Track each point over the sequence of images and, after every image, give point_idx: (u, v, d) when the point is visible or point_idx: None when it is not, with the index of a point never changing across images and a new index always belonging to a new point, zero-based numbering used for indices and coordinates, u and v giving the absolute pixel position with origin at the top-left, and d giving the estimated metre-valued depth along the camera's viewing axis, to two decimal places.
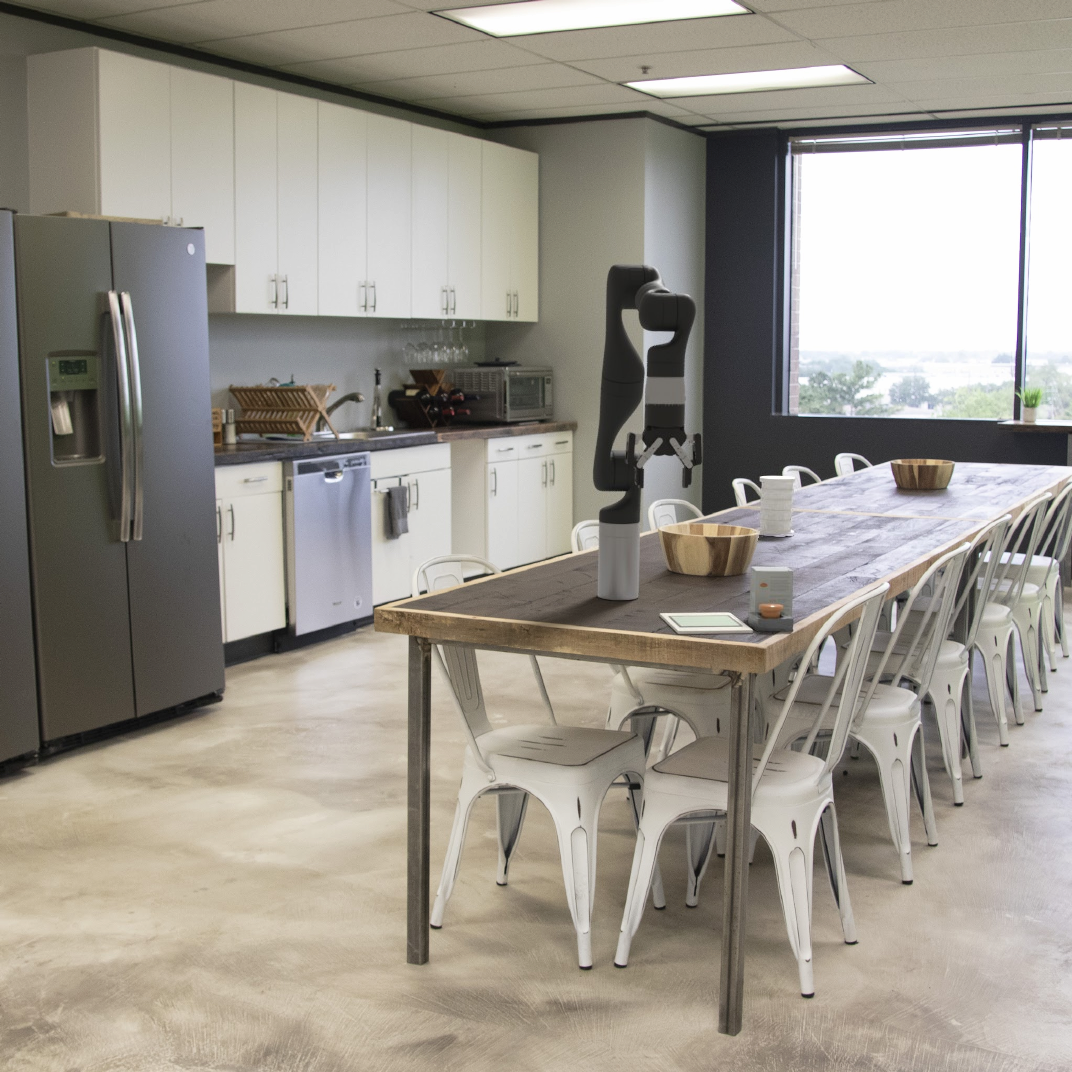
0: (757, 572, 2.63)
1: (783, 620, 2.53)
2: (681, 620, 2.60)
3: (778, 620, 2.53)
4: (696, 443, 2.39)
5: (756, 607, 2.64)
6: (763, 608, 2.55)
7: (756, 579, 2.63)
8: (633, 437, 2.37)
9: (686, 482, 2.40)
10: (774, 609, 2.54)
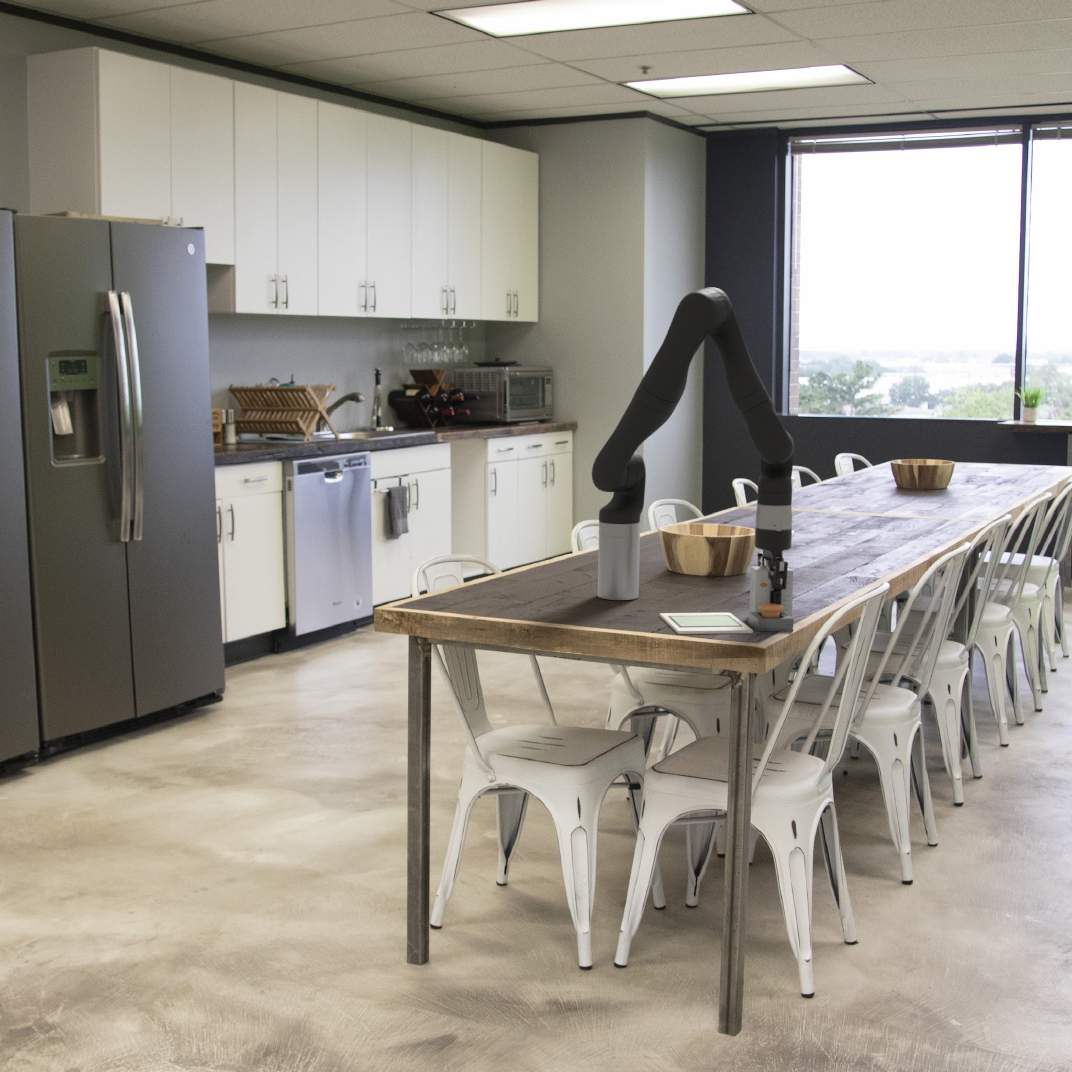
0: (757, 572, 2.63)
1: (783, 620, 2.53)
2: (681, 620, 2.60)
3: (778, 620, 2.53)
4: None
5: (756, 607, 2.64)
6: (763, 608, 2.55)
7: (756, 579, 2.63)
8: None
9: None
10: (774, 609, 2.54)
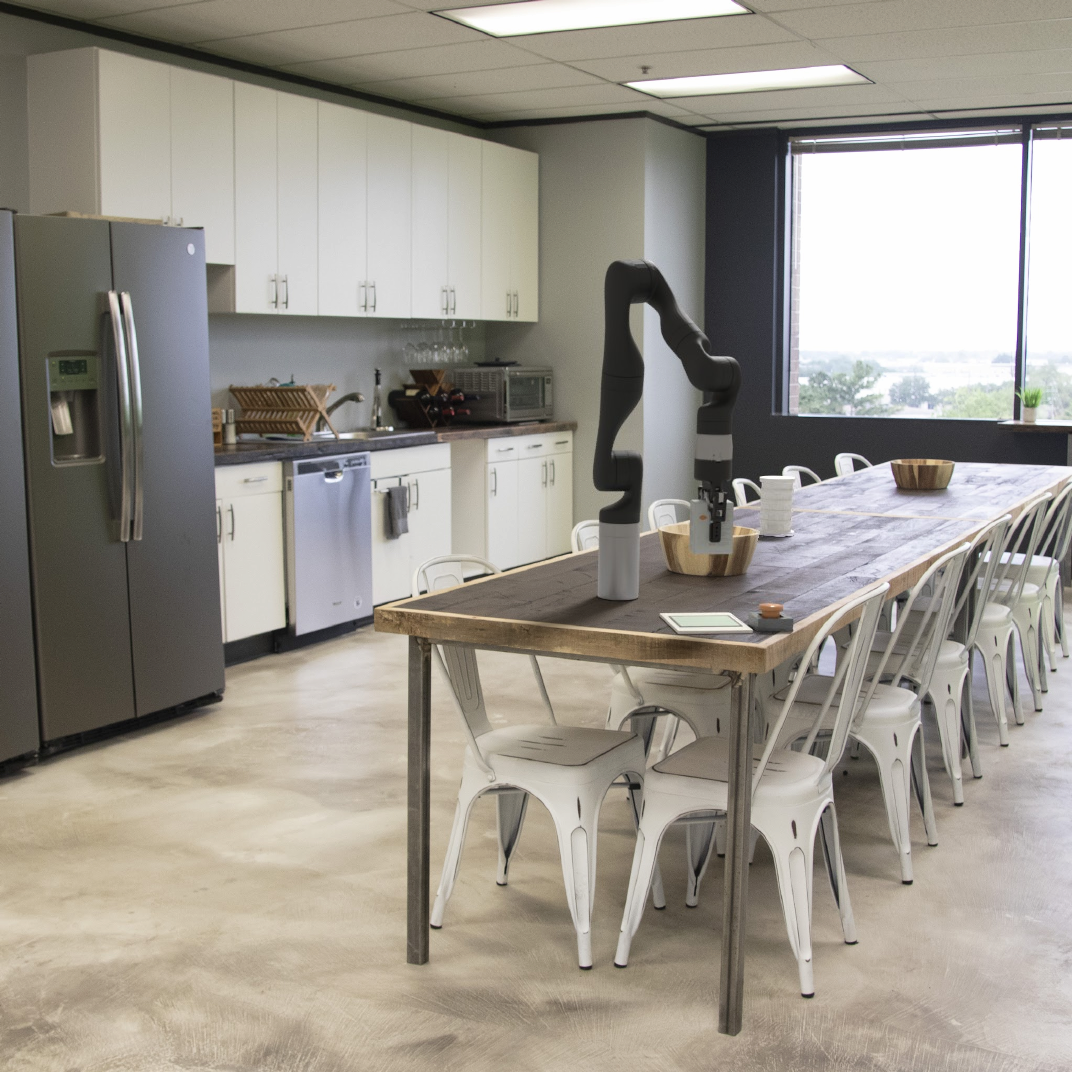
0: (696, 504, 2.54)
1: (783, 620, 2.53)
2: (681, 620, 2.60)
3: (778, 620, 2.53)
4: None
5: (695, 540, 2.55)
6: (763, 608, 2.55)
7: (695, 511, 2.54)
8: None
9: None
10: (774, 609, 2.54)
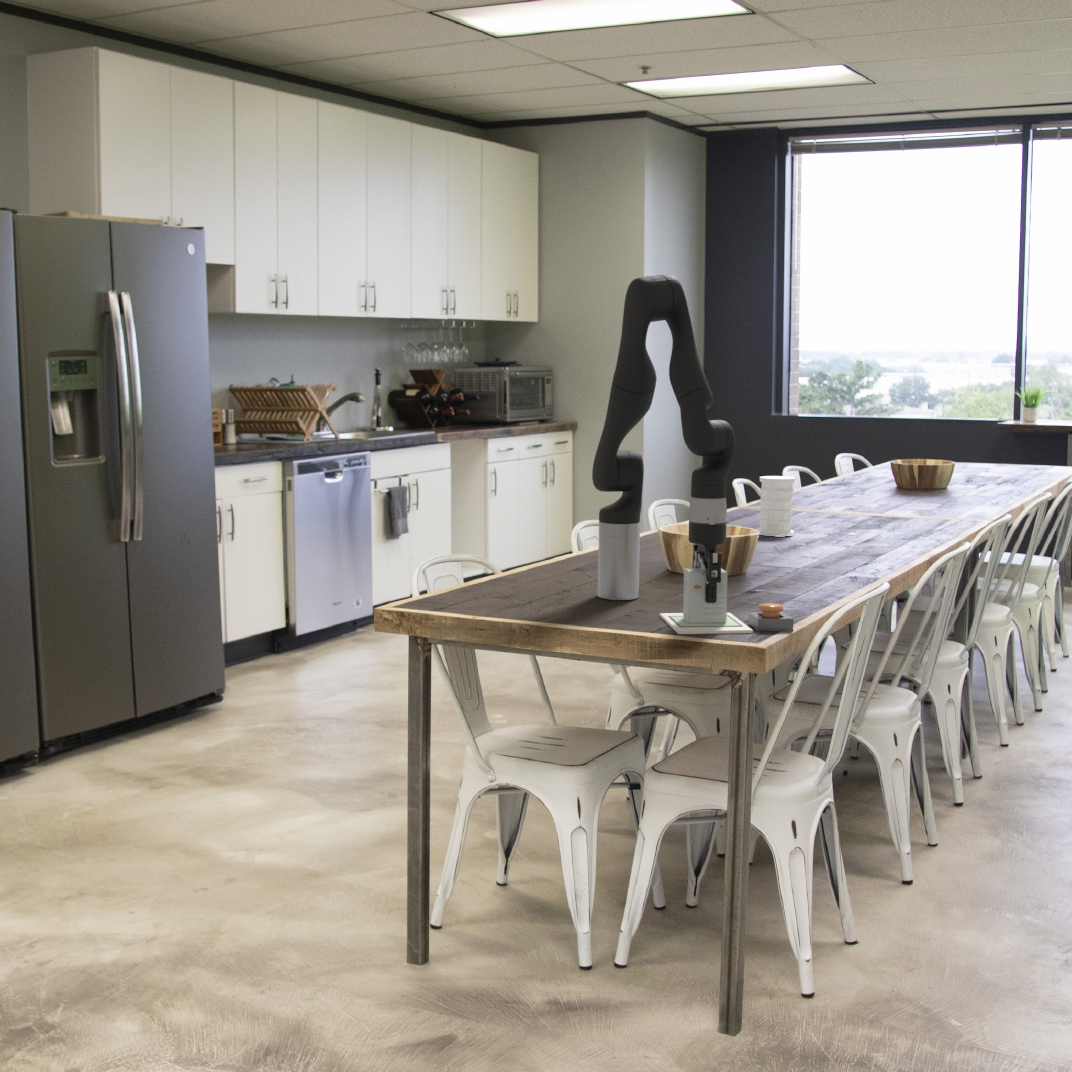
0: (690, 574, 2.55)
1: (783, 620, 2.53)
2: (681, 620, 2.60)
3: (778, 620, 2.53)
4: None
5: (690, 610, 2.56)
6: (763, 608, 2.55)
7: (689, 581, 2.56)
8: None
9: None
10: (774, 609, 2.54)
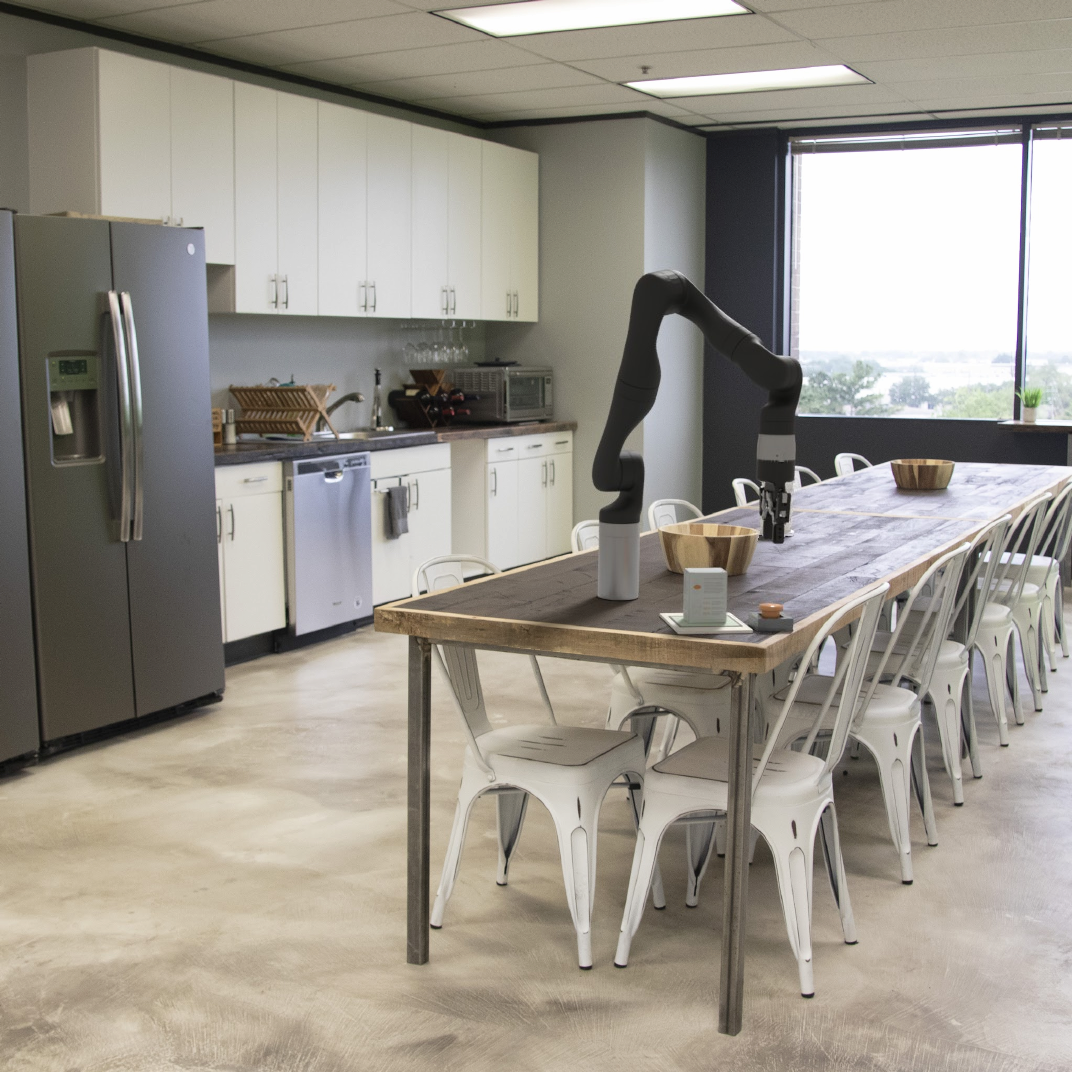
0: (690, 574, 2.55)
1: (783, 620, 2.53)
2: (681, 620, 2.60)
3: (778, 620, 2.53)
4: None
5: (690, 610, 2.56)
6: (763, 608, 2.55)
7: (689, 581, 2.56)
8: None
9: None
10: (774, 609, 2.54)
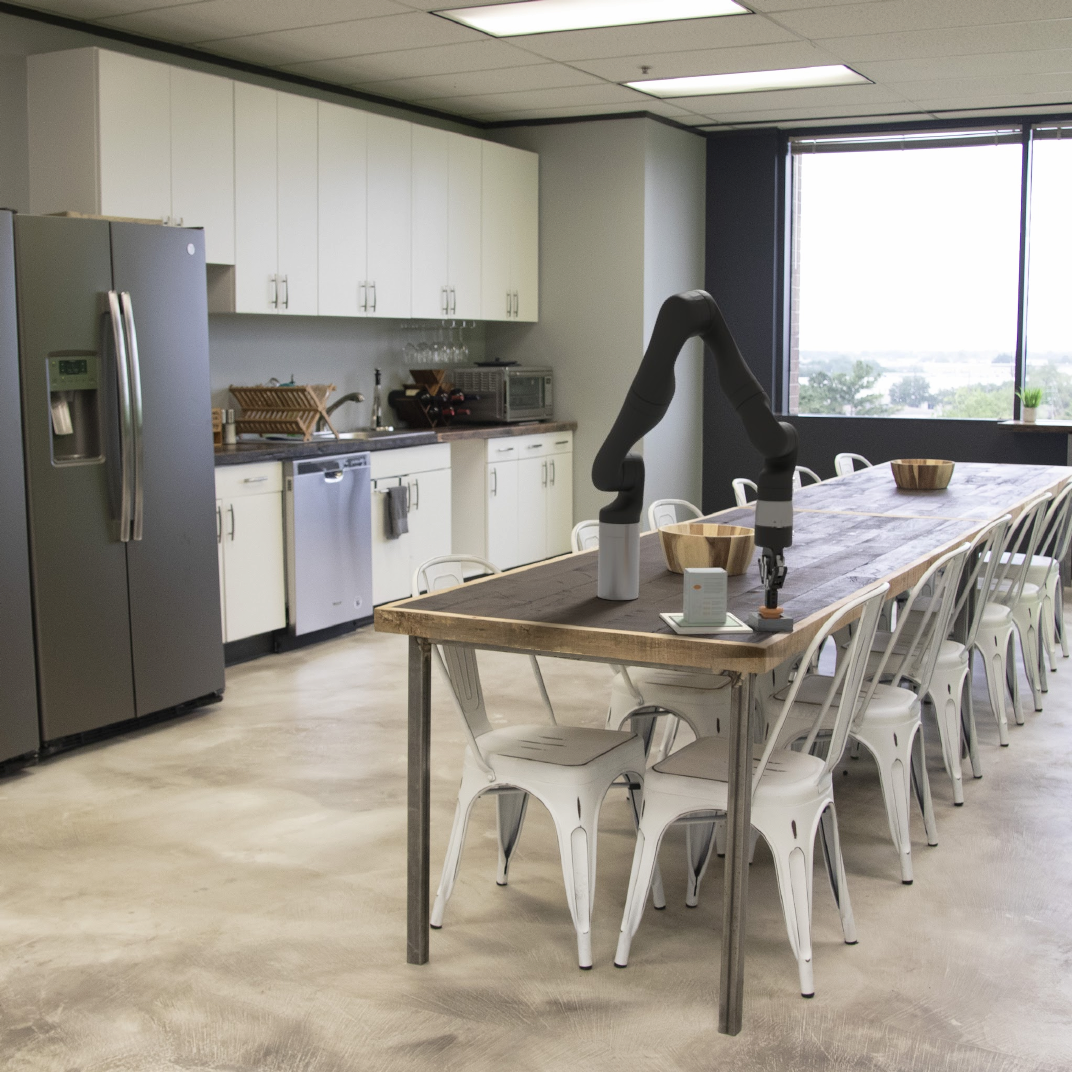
0: (690, 574, 2.55)
1: (783, 620, 2.53)
2: (681, 620, 2.60)
3: (778, 620, 2.53)
4: None
5: (690, 610, 2.56)
6: (763, 610, 2.55)
7: (689, 581, 2.56)
8: None
9: None
10: (774, 611, 2.54)
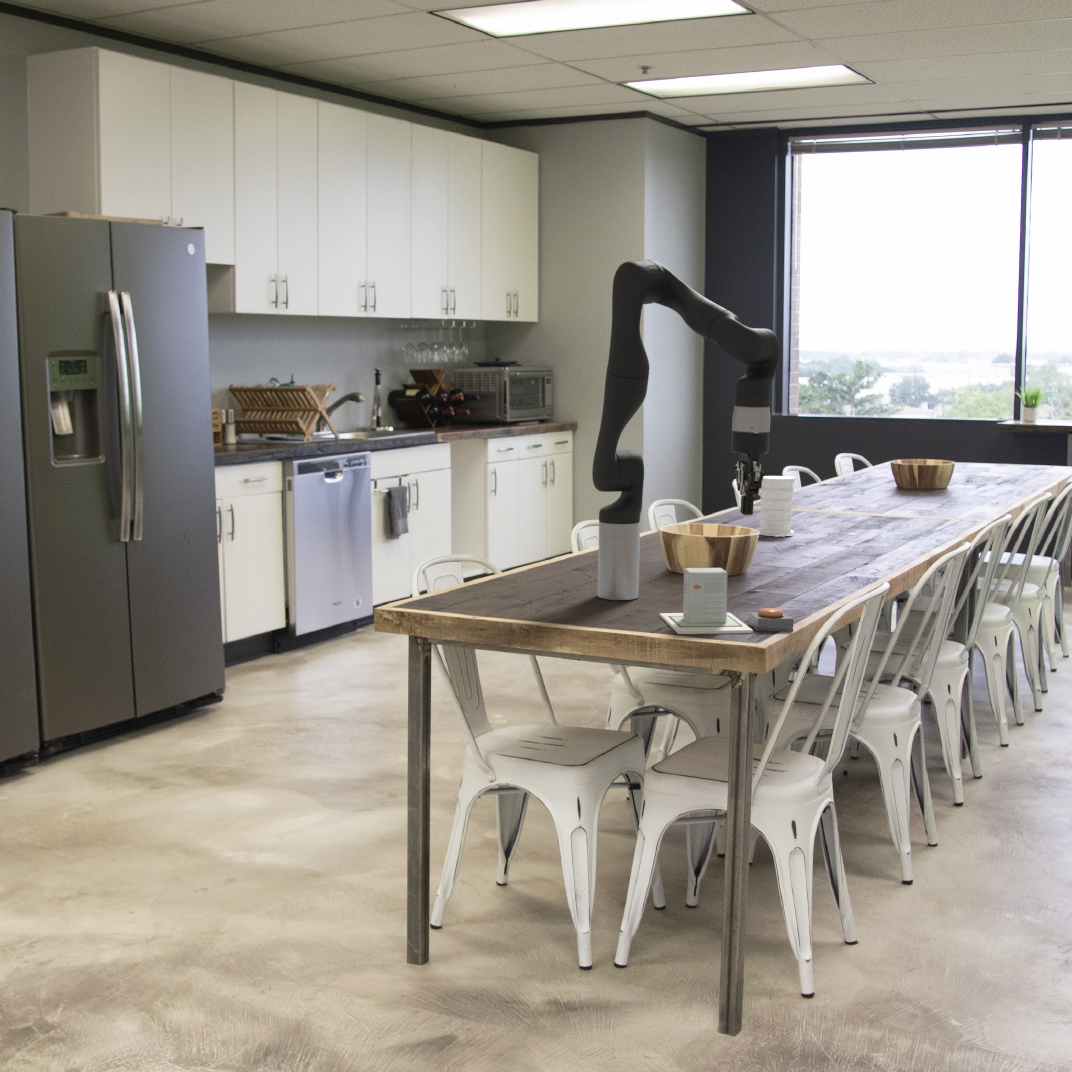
0: (690, 574, 2.55)
1: (783, 620, 2.53)
2: (681, 620, 2.60)
3: (778, 620, 2.53)
4: None
5: (690, 610, 2.56)
6: (763, 613, 2.55)
7: (689, 581, 2.56)
8: None
9: None
10: (774, 614, 2.54)
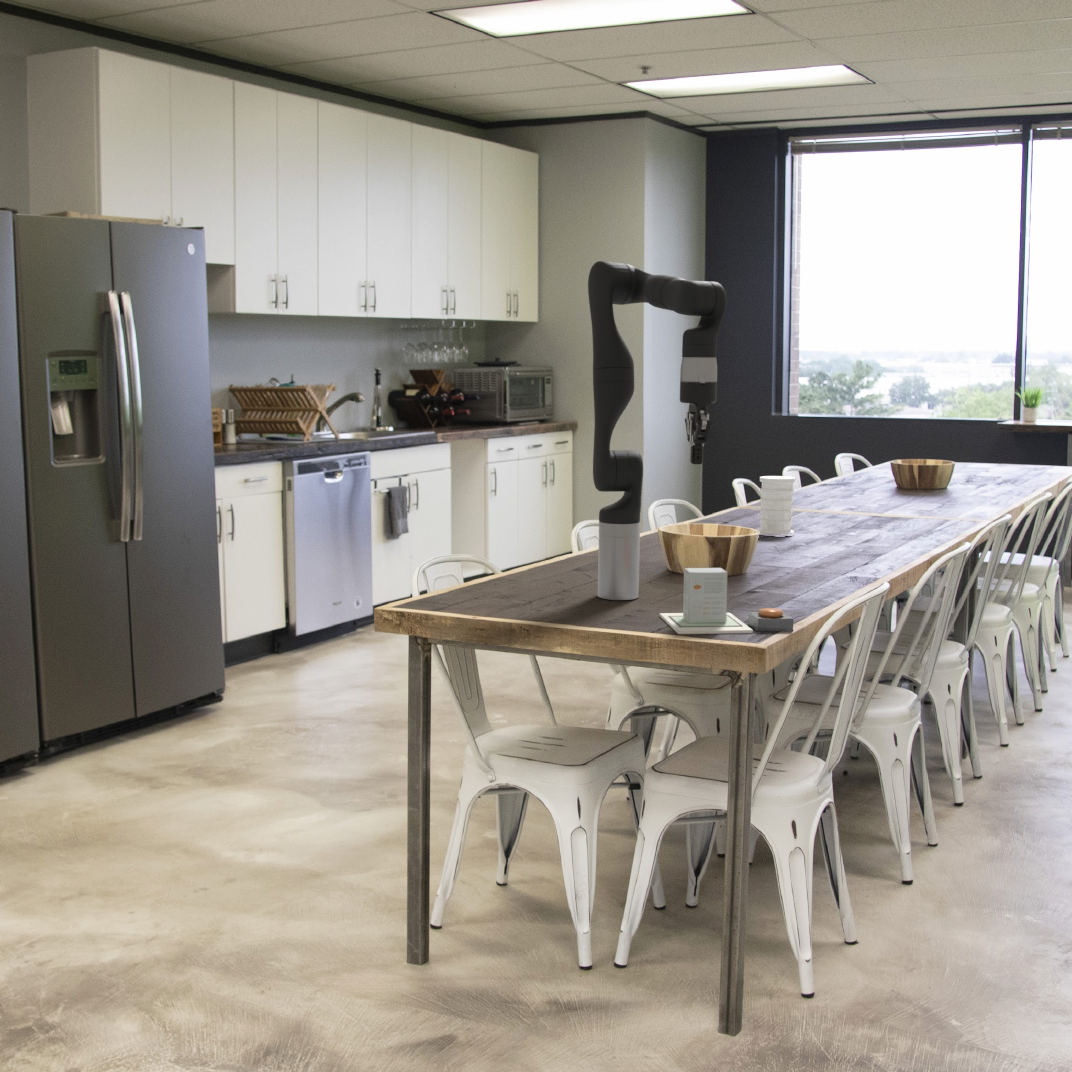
0: (690, 574, 2.55)
1: (783, 620, 2.53)
2: (681, 620, 2.60)
3: (778, 620, 2.53)
4: None
5: (690, 610, 2.56)
6: (763, 613, 2.55)
7: (689, 581, 2.56)
8: None
9: None
10: (774, 614, 2.54)
